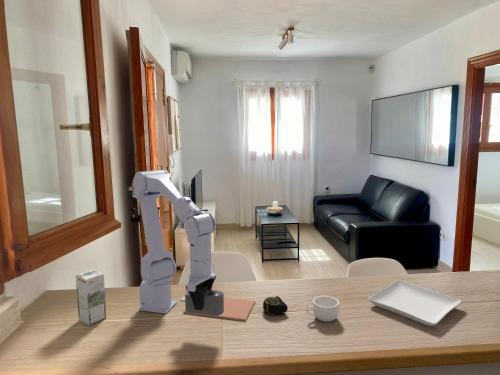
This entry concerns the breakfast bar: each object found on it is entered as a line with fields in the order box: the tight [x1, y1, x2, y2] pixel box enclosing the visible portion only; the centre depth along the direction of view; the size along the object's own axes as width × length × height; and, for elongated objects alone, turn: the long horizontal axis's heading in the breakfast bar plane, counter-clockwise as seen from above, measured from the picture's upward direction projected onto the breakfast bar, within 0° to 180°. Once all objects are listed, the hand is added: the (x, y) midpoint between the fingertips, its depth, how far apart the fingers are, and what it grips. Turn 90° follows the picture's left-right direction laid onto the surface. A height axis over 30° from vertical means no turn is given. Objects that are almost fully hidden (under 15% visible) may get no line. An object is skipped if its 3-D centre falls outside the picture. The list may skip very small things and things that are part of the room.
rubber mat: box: [183, 296, 256, 322], centre depth 114 cm, size 20×12×1 cm, turn 76°
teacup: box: [306, 295, 340, 323], centre depth 107 cm, size 10×8×5 cm
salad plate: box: [367, 279, 462, 327], centre depth 114 cm, size 21×21×3 cm
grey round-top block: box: [179, 289, 225, 316], centre depth 99 cm, size 12×4×5 cm, turn 76°
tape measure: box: [262, 295, 288, 316], centre depth 112 cm, size 7×7×4 cm
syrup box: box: [75, 269, 107, 327], centre depth 107 cm, size 6×6×14 cm
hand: (202, 304), depth 99 cm, fingers closed on grey round-top block, 4 cm apart
